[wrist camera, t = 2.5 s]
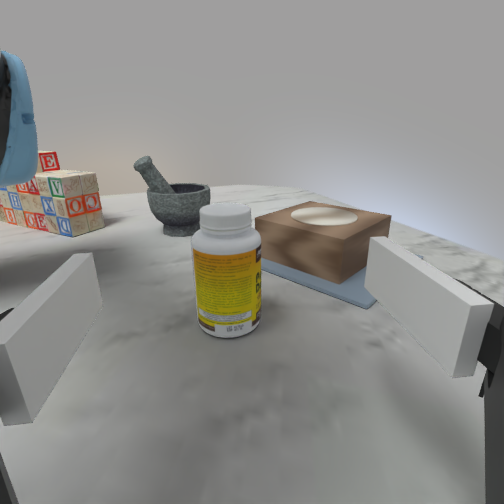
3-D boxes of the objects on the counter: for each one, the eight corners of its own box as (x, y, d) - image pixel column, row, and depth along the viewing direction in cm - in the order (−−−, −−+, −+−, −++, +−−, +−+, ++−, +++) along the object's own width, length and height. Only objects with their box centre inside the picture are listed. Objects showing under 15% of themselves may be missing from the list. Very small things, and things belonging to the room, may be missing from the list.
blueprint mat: (222, 254, 43) (222, 252, 43) (294, 227, 54) (294, 225, 53) (366, 309, 30) (367, 305, 30) (422, 259, 41) (423, 256, 41)
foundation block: (255, 255, 41) (255, 216, 39) (308, 233, 49) (310, 199, 48) (339, 284, 34) (344, 237, 32) (385, 252, 42) (391, 213, 40)
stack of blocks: (106, 227, 55) (92, 152, 50) (72, 238, 50) (54, 156, 45) (33, 213, 64) (15, 149, 60) (-2, 221, 59) (-24, 151, 55)
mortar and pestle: (198, 219, 59) (193, 150, 54) (222, 232, 51) (219, 154, 47) (136, 229, 53) (124, 154, 49) (152, 246, 46) (141, 159, 41)
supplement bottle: (267, 336, 26) (269, 215, 22) (199, 345, 25) (188, 220, 22) (254, 302, 31) (253, 198, 28) (196, 308, 30) (187, 201, 27)
